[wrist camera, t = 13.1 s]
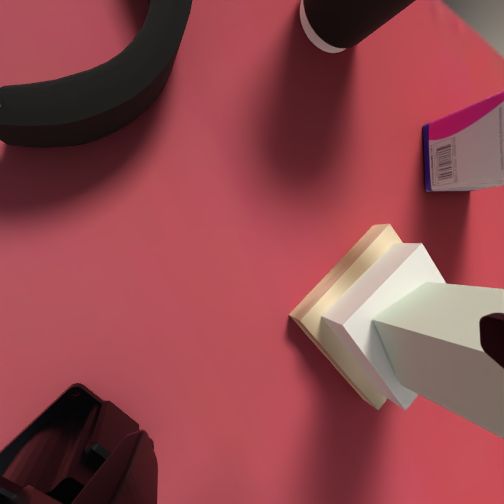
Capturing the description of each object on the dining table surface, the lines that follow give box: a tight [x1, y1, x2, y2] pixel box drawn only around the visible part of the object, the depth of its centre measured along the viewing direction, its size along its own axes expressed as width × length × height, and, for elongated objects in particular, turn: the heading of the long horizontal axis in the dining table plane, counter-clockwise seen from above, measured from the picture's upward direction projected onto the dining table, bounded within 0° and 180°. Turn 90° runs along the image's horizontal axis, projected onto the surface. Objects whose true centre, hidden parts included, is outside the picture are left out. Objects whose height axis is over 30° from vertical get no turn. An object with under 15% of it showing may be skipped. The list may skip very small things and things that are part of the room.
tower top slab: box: [321, 243, 446, 410], centre depth 21 cm, size 8×8×2 cm
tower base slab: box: [289, 224, 402, 411], centre depth 23 cm, size 10×10×2 cm
